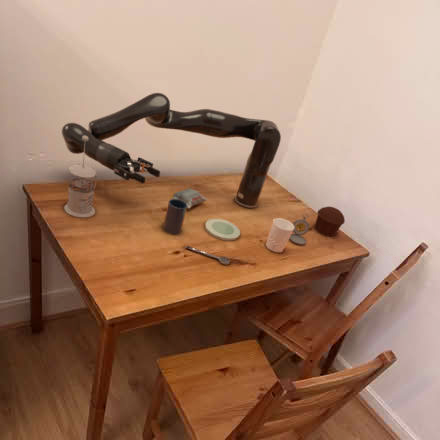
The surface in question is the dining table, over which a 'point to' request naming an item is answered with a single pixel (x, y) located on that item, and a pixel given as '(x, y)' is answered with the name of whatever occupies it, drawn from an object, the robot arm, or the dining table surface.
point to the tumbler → (174, 216)
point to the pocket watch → (296, 237)
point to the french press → (81, 190)
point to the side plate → (222, 229)
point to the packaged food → (189, 197)
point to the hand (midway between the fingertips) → (152, 177)
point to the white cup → (279, 234)
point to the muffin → (329, 221)
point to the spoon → (221, 259)
